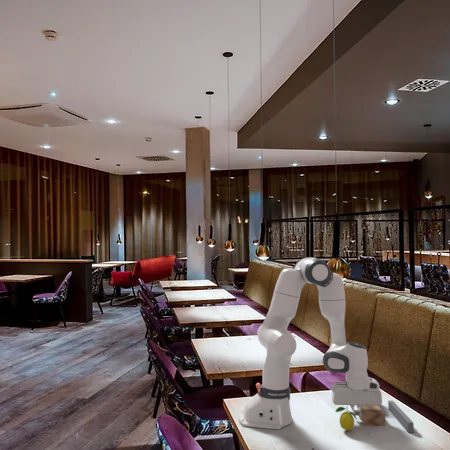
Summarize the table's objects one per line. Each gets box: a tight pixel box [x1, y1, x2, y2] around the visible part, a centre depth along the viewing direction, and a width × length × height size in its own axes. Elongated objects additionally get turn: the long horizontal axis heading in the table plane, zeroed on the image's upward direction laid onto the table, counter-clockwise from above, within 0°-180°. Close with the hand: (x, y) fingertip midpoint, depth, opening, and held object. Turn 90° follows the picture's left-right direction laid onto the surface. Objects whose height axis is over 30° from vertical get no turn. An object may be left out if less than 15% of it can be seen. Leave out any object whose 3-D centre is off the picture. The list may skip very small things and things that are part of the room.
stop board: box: [387, 400, 414, 434], centre depth 185 cm, size 2×22×4 cm, turn 179°
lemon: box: [334, 406, 358, 432], centre depth 176 cm, size 7×6×10 cm
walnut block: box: [357, 405, 386, 427], centre depth 185 cm, size 8×10×5 cm
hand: (356, 415), depth 185 cm, fingers closed
